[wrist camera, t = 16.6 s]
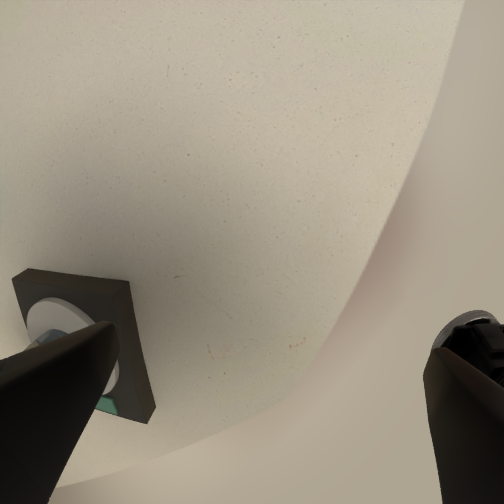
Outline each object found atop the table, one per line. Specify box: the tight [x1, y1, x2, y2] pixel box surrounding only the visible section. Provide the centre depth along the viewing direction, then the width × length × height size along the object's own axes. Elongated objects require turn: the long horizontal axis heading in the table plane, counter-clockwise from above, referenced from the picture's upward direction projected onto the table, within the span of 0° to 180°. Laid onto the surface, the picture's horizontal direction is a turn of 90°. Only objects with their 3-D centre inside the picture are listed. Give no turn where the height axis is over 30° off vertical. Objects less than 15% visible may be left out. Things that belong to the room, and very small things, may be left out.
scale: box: [12, 268, 156, 424], centre depth 26 cm, size 14×12×3 cm
